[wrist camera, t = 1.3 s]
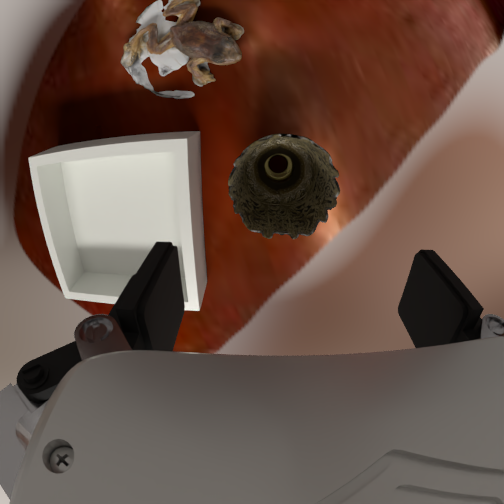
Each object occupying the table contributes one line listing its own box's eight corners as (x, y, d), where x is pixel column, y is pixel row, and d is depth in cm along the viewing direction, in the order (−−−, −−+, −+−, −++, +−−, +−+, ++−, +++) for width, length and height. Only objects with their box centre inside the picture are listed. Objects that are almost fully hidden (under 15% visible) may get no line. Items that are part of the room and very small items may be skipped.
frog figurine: (279, 11, 19) (282, -2, 16) (216, 120, 25) (209, 124, 21) (167, -26, 17) (155, -40, 14) (111, 78, 22) (91, 78, 19)
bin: (57, 146, 25) (28, 157, 20) (200, 130, 25) (187, 138, 20) (83, 273, 33) (65, 298, 28) (207, 281, 32) (199, 310, 28)
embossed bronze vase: (233, 197, 28) (224, 235, 21) (240, 120, 24) (232, 129, 17) (311, 206, 28) (328, 246, 21) (324, 130, 24) (349, 144, 17)
